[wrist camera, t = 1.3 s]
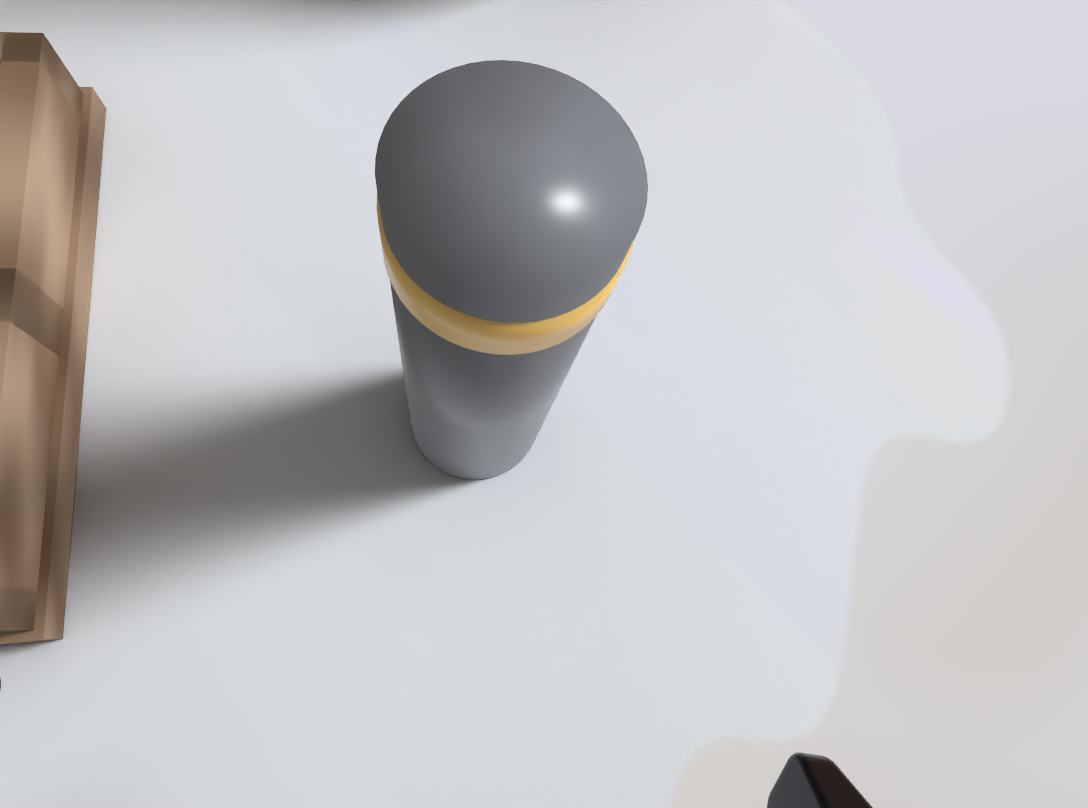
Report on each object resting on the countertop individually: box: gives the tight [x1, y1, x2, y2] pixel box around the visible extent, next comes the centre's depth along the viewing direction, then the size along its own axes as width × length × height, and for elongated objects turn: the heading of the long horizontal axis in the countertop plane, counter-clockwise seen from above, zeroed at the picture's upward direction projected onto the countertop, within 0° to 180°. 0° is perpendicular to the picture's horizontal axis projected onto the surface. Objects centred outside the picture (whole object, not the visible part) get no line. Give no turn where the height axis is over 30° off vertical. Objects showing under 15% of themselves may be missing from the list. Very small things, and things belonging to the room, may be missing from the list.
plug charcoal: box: [375, 60, 648, 480], centre depth 17 cm, size 4×4×13 cm
